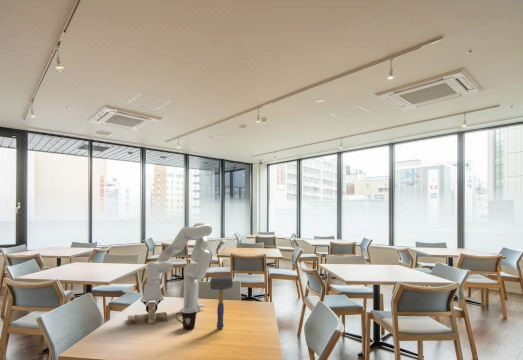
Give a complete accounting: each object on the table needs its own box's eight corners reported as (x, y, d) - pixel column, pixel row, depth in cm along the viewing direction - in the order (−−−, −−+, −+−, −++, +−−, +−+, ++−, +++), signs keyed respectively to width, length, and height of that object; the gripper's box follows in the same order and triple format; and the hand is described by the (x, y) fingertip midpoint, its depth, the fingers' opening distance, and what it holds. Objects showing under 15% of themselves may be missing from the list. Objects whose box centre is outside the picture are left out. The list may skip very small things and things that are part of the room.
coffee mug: (199, 327, 193) (199, 309, 194) (190, 331, 186) (190, 313, 186) (183, 324, 198) (184, 307, 199) (173, 328, 190) (174, 310, 191)
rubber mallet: (228, 325, 197) (229, 274, 200) (232, 329, 190) (233, 277, 193) (208, 327, 193) (209, 275, 195) (211, 332, 186) (212, 278, 188)
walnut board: (165, 316, 212) (166, 311, 213) (167, 320, 203) (167, 316, 203) (127, 319, 204) (127, 315, 204) (127, 325, 195) (128, 320, 195)
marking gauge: (153, 316, 210) (154, 300, 211) (155, 323, 197) (156, 306, 198) (147, 316, 209) (148, 300, 210) (148, 324, 196) (149, 307, 197)
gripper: (166, 279, 213) (164, 308, 211) (138, 281, 207) (137, 311, 205) (167, 282, 206) (166, 312, 204) (139, 283, 200) (137, 314, 198)
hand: (151, 311), depth 205 cm, fingers closed on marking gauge, 4 cm apart
